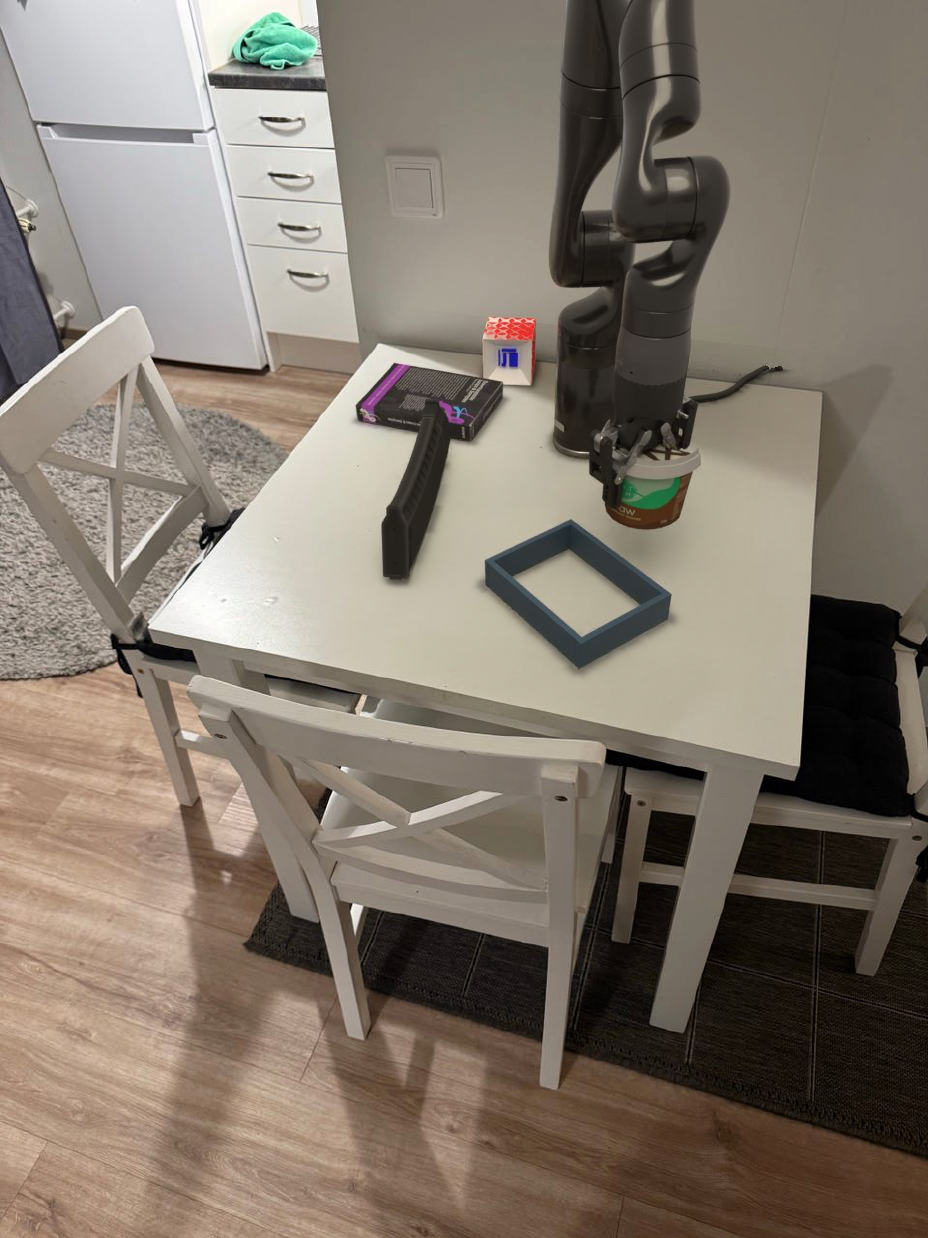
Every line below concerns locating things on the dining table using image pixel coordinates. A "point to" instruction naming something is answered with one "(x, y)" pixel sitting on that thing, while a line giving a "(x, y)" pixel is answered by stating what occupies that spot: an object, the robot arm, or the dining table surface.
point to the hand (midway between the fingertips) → (636, 493)
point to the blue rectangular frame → (598, 557)
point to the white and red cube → (509, 350)
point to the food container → (654, 487)
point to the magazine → (415, 494)
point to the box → (410, 386)
